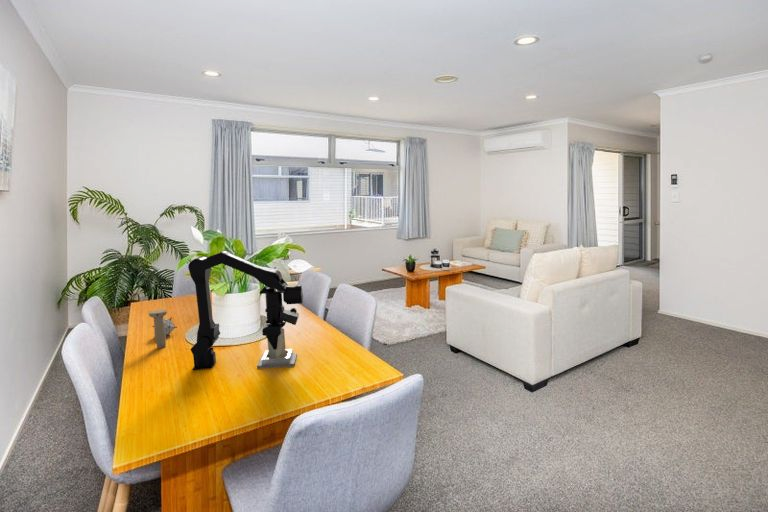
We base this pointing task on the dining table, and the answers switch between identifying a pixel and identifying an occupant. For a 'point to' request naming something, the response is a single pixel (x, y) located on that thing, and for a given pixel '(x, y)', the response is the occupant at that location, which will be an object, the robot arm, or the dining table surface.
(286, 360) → the socket
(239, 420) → the dining table surface
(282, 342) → the box
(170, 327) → the grey spiky ball
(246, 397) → the dining table surface
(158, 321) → the handle
